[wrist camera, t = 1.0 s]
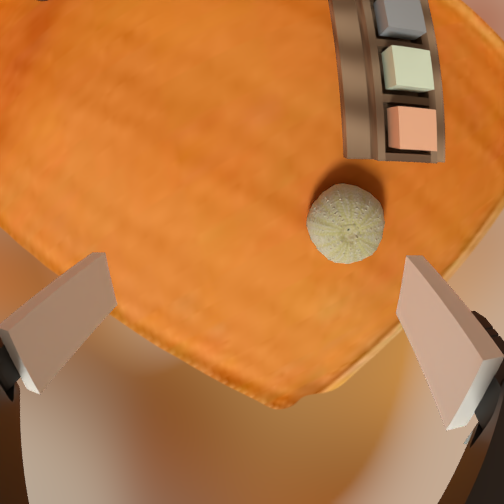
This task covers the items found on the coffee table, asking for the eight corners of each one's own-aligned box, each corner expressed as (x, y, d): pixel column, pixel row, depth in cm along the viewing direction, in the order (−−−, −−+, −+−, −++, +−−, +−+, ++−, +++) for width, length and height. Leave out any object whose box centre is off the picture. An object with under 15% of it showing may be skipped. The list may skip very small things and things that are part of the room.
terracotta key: (386, 108, 26) (397, 106, 23) (421, 111, 26) (435, 109, 23) (388, 146, 28) (399, 148, 25) (422, 148, 27) (437, 151, 24)
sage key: (381, 53, 24) (391, 44, 21) (416, 57, 24) (429, 50, 20) (385, 89, 26) (396, 85, 22) (420, 92, 25) (434, 89, 22)
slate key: (373, 4, 22) (381, -9, 19) (408, 9, 21) (419, -2, 18) (378, 36, 23) (388, 26, 20) (414, 40, 23) (426, 32, 20)
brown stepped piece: (322, -32, 24) (326, -53, 19) (413, -21, 22) (428, -38, 17) (343, 156, 33) (353, 161, 28) (436, 159, 32) (457, 165, 27)
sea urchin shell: (319, 276, 37) (311, 251, 30) (306, 220, 40) (295, 186, 33) (390, 258, 35) (399, 229, 28) (372, 203, 38) (374, 167, 31)
